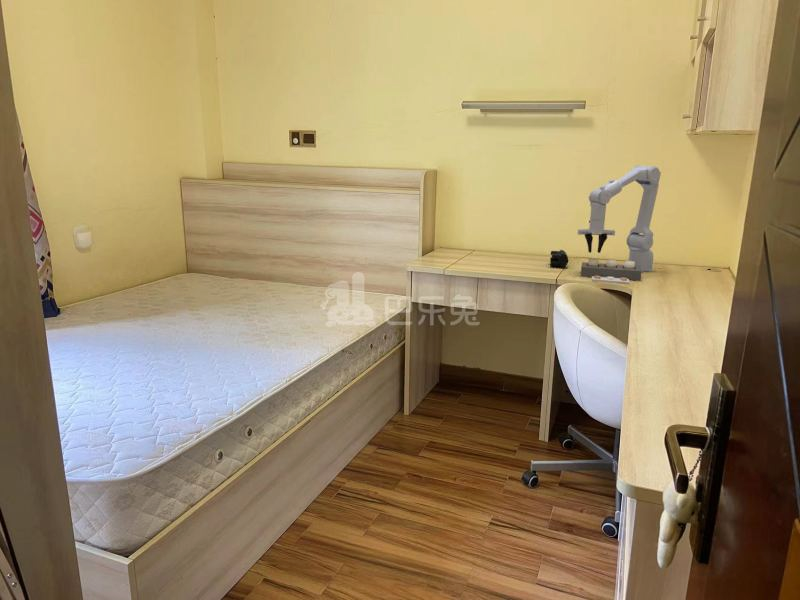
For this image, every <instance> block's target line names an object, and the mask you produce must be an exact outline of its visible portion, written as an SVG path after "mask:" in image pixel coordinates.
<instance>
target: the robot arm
mask: <svg viewBox="0 0 800 600" xmlns="http://www.w3.org/2000/svg"><path fill="white" fill-rule="evenodd" d="M661 174H662V172H661V171H660V169H659V168H658V167H657V166H656V165H655V166H654V165H653V166H649V165H638V164H637V165H636V166H634V167H632V168H631V169H630V170H629V172H627V173H626V174H625V175H623V176H622V177H621V178H619V179H618V180H617V179H610V180H609V181H608V182H607V183H606V184H604V185H601V186H600V187H599V188H595V189H593V190H592V191H591V192H590V194H589V196H588V199H589V200H588V201H589V202H590V203H589V206H590V215H589V216H590V217H589V228H587V229H585V228H583V229H582V228H580V229H579V228H578V229H577V235H579V236H580V235H584V238H585V240H586V244H587V249H588V250H587V251H588V252H587V253H589V254H590V253H591V254H592V251H593V250H592V247H593V239H594V237H593V236H595V235H596V236H598V244H597V245H598V246H597V253H599V254H601V251H602V248H603V246H604V244H605V242H606V241H607V239H608V236H615V235H616V230H615V229H605V222H606V212H607V211H606V210H607V204H609V202H610V201H611V199H612V198H613V197H615V196H617V195H618V194H619V193H621V192H622V190H623V188H625V187H626V186H628V185H630V184H631V183H633V182H636V183H637V184H639V185H640V186H641V187H642V189H643V193H642V196H641V200H640V205H639V209H638V214H637V218H636V222H635V226H634V227H632V228H631V229H630V231H629V234H628V236H627V237H626V245H627V246H628V249H629V253H628V261H634V262H635V266H640V268H641V271H642V272H641V273H643V272H654V270H653V264H654V263H653V262H654V252H653V251H652V250H651V248H652V247H653V245H654V232H652V230H651V228H650V226H651V221H652V217H653V213H654V209H655V204H656V199H657V195H658V191H659V183H660V178H661Z"/></svg>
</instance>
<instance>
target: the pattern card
mask: <svg viewBox="0 0 800 600" xmlns="http://www.w3.org/2000/svg"><path fill="white" fill-rule="evenodd" d="M591 282H598V283H610V284H625V285H630V280H629V279H627V278H624V277H621V278H614V277H611V276H608V277H601V276H597V275H595V276H592V277H591Z"/></svg>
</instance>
